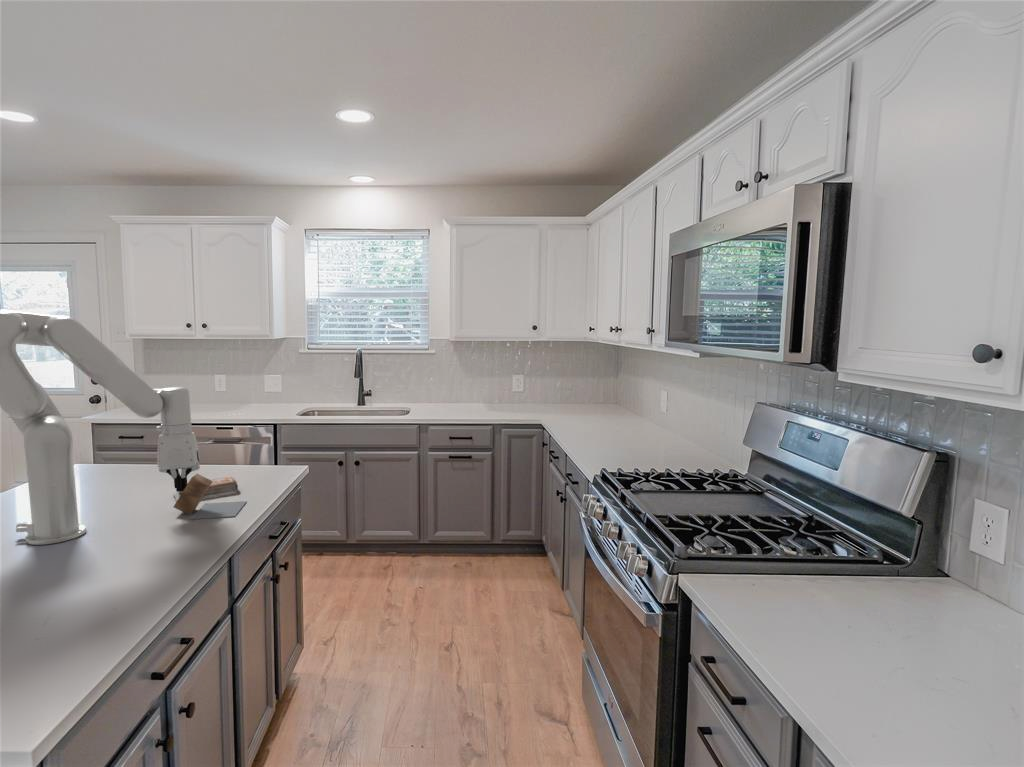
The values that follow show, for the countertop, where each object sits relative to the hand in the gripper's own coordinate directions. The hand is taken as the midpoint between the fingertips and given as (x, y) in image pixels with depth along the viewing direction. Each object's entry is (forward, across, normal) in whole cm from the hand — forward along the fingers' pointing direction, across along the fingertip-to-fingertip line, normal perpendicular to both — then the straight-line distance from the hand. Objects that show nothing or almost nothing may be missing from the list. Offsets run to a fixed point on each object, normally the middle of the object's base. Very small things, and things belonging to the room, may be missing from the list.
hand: (181, 490), depth 170 cm
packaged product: (+8, +2, +18) cm, 19 cm away
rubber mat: (+7, +10, 0) cm, 12 cm away
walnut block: (+6, 0, 0) cm, 6 cm away
